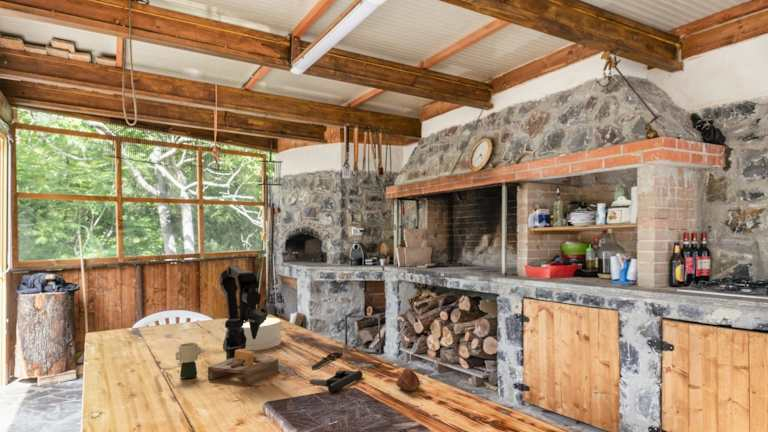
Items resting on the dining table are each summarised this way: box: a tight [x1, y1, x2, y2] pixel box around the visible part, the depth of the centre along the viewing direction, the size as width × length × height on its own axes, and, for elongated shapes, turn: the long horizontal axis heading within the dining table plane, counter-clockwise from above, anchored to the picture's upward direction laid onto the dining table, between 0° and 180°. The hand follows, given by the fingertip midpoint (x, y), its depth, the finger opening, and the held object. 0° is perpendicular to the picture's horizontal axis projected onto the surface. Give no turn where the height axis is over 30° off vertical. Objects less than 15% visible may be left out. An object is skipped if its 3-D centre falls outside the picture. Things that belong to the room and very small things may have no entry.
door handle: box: [309, 369, 363, 393], centre depth 172 cm, size 3×20×16 cm
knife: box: [310, 351, 343, 371], centre depth 202 cm, size 26×7×2 cm, turn 156°
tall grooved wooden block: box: [234, 349, 255, 367], centre depth 185 cm, size 7×3×6 cm, turn 68°
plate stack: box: [224, 317, 282, 351], centre depth 240 cm, size 28×28×12 cm
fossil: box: [395, 368, 421, 392], centre depth 163 cm, size 13×8×10 cm
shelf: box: [207, 353, 279, 385], centre depth 185 cm, size 20×18×7 cm
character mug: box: [175, 342, 202, 379], centre depth 185 cm, size 11×7×13 cm, turn 147°
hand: (246, 341), depth 188 cm, fingers open, 9 cm apart
